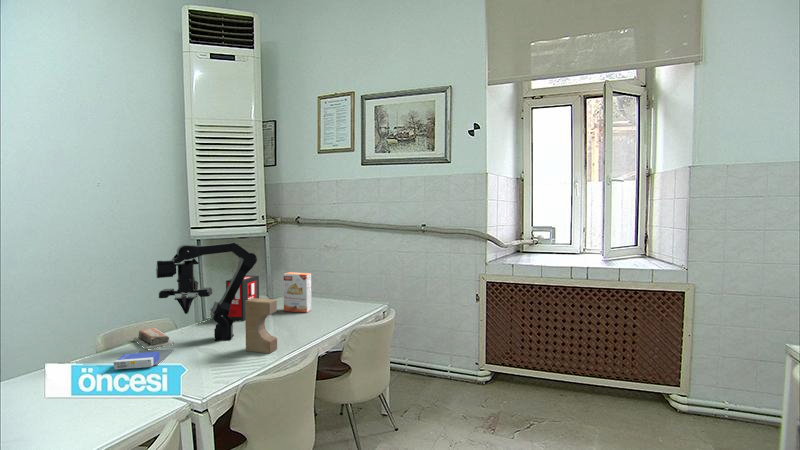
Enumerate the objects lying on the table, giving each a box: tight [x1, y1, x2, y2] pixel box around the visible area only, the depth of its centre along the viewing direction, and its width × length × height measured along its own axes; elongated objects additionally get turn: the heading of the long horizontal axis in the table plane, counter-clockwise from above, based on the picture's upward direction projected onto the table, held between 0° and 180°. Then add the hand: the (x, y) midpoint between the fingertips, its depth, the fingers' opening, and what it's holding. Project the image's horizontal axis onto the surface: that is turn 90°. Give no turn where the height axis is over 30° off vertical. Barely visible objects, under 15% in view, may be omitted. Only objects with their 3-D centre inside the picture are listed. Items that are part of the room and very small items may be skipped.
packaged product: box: [133, 327, 175, 351], centre depth 167 cm, size 18×5×10 cm
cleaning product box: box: [225, 274, 260, 322], centre depth 208 cm, size 16×9×20 cm, turn 172°
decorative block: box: [244, 297, 278, 354], centre depth 158 cm, size 11×6×20 cm, turn 73°
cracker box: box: [283, 271, 312, 313], centre depth 219 cm, size 14×6×21 cm, turn 76°
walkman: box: [113, 352, 159, 370], centre depth 142 cm, size 8×3×12 cm
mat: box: [137, 348, 175, 367], centre depth 149 cm, size 12×16×1 cm
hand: (186, 313), depth 164 cm, fingers closed
